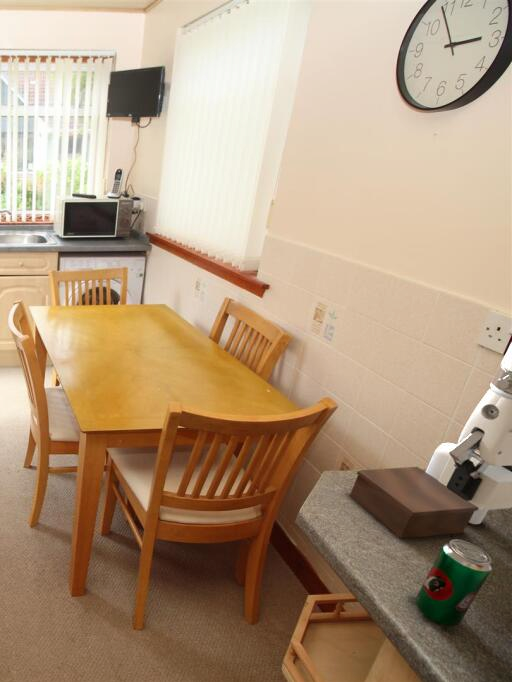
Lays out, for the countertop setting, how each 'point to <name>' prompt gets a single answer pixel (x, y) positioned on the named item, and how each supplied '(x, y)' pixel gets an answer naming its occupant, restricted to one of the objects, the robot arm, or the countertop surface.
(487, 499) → the white box
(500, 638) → the countertop surface
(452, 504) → the storage box
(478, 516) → the photo printer
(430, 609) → the soda can
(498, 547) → the countertop surface
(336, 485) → the countertop surface
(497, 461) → the robot arm
